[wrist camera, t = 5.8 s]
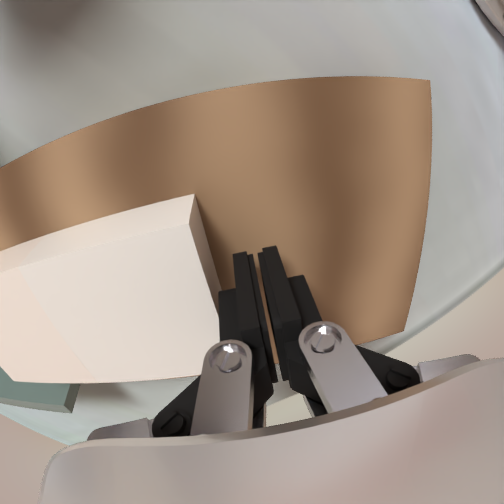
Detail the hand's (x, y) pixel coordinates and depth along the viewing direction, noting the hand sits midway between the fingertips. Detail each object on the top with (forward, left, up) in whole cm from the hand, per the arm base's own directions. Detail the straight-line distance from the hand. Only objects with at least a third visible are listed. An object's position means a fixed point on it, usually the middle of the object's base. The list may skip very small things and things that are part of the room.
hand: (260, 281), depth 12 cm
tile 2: (+5, 0, -1) cm, 5 cm away
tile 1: (+12, 0, -1) cm, 12 cm away
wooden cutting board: (+3, 0, -4) cm, 5 cm away
